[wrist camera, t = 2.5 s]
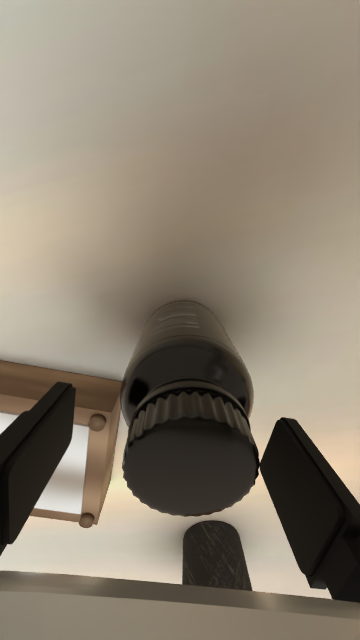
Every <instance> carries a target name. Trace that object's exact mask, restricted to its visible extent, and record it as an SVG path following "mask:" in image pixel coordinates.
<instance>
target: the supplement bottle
mask: <svg viewBox="0 0 360 640" xmlns="http://www.w3.org/2000/svg"><path fill="white" fill-rule="evenodd" d="M253 400H254V391H253V384H252V380H251V377H250V375H249V373H248V370H247V368H246V366H245V364H244V363H243V361H242V359H241V358H240V356H239V354H238V353H237V351H236V349H235V347H234V346H233V344H232V342H231V341H230V339H229V337H228V336H227V334H226V332H225V331H224V329H223V327H222V325H221V324H220V322H219V321H218V319H217V318H216V316H215V315H214V314H213V313H212V312H211V311H210V310H209V309H207V308H206V307H204V306H202V305H200V304H198V303H195V302H190V301H177V302H172V303H169V304H167V305H164V306H163V307H161V308H159V309H158V310H157V311H156V312H155V313H154V314H153V315H152V316H151V317H150V319H149V320H148V322H147V324H146V326H145V328H144V330H143V332H142V335H141V337H140V339H139V342H138V344H137V346H136V348H135V351H134V353H133V355H132V358H131V360H130V362H129V365H128V367H127V369H126V372H125V374H124V377H123V380H122V384H121V389H120V405H121V410H122V413H123V417H124V419H125V421H126V423H127V425H128V427H129V430H128V438H127V442H126V446H125V450H124V456H123V462H122V469H123V471H124V475H123V478H124V479H125V480H126V481H127V487H128V488H129V489H130V490H132V493H133V495H134V496H136V497H137V498H139V499H140V501H141V502H142V503H144V504H147V505H148V506H149V507H150V508H152V509H156V510H158V511H159V512H161V513H168V514H170V515H180V516H184V517H187V516H201V515H210V514H212V513H214V512H220V511H222V510H224V509H225V508H228V507H231V506H232V505H233V504H234V503H236V502H238V501H240V500H241V499H242V498H243V496H245V495H246V494H248V493H249V491H250V488H251V487H252V486H253V485H255V479H256V478H257V477H258V475H259V473H258V469H259V466H260V461H259V458H258V457H259V453H258V449H257V446H256V444H255V441H254V439H253V436H252V434H251V430H250V424H249V417H250V415H251V411H252V407H253Z"/></svg>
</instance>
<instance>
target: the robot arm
mask: <svg viewBox="0 0 360 640" xmlns="http://www.w3.org/2000/svg"><path fill="white" fill-rule="evenodd" d="M75 396H76V388H75V387H73V386H72V384H71V383H66V382H59V381H58V382H56V383H55V384H54V385H53V386H52V387H51V389H50V390H49V391H48V392H47V393H46V394H45V395H44V396H43V397H42V398H41V399H40V400H39V401H38V402H37V403H36V404H35V405H34V406H33V407H32V408H31V409H30V410H29V411H27V410H26V411H24V412H22V413H21V414H20V415H19V416H18V417H17V418H16V419H15V420H14V421H13V422H12V423H11V424H10V425H9V426H8V427H7V428H6V429H5V430H4V431H3V432H2V433H1V434H0V556H1V554H2V552H3V551H4V549H5V547H6V545H7V544H12V543H13V542H14V541H15V540H16V538H17V536H18V535H19V533H20V531H21V529H22V528H23V526H24V524H25V522H26V521H27V519H28V517H29V515H30V514H31V512H32V510H33V508H34V507H35V505H36V503H37V501H38V500H39V498H40V496H41V494H42V493H43V491H44V489H45V487H46V485H47V484H48V482H49V480H50V478H51V477H52V475H53V473H54V471H55V470H56V468H57V466H58V464H59V463H60V461H61V459H62V457H63V456H64V454H65V452H66V450H67V449H68V447H69V445H70V443H71V440H72V434H73V421H74V409H75ZM260 471H261V474H262V477H263V479H264V482H265V484H266V487H267V489H268V492H269V494H270V497H271V499H272V502H273V504H274V507H275V509H276V511H277V514H278V516H279V519H280V521H281V524H282V526H283V529H284V531H285V534H286V536H287V539H288V541H289V544H290V546H291V549H292V551H293V554H294V556H295V559H296V561H297V564H298V566H299V568H300V570H301V572H302V573H303V574H305V576H306V578H307V581H308V583H309V585H310V588H316V589H326V588H328V590H329V592H330V594H331V596H332V599H325V598H315V597H305V596H295V595H285V594H275V593H265V592H255V591H245V590H234V589H224V588H213V587H203V586H192V585H181V584H170V583H159V582H148V581H137V580H125V579H113V578H102V577H90V576H79V575H67V574H51V573H35V572H19V571H0V640H360V504H359V503H358V502H357V500H356V499H355V498H354V496H353V495H352V494H351V492H350V491H349V490H348V488H347V487H346V486H345V484H344V483H343V482H342V480H341V479H340V478H339V476H338V475H337V474H336V472H335V471H334V470H333V468H332V467H331V466H330V464H329V463H328V462H327V460H326V459H325V458H324V456H323V455H322V454H321V452H320V451H319V450H318V448H317V447H316V446H315V444H314V443H313V442H312V440H311V439H310V438H309V437H308V435H307V434H306V433H305V431H304V430H303V429H302V427H301V426H300V425H299V423H298V422H297V421H296V420H295V419H290V418H284V417H282V418H281V419H280V420H278V421H277V422H276V424H275V427H274V429H273V432H272V434H271V437H270V439H269V442H268V444H267V447H266V449H265V452H264V454H263V457H262V460H261V462H260Z"/></svg>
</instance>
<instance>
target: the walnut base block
mask: <svg viewBox="0 0 360 640" xmlns="http://www.w3.org/2000/svg"><path fill="white" fill-rule="evenodd" d="M58 381H59V382H66V383H71V384H72V386H73V387H75V388H76V396H75V409H74V421H73V434H72V440H71V443H70V445H69V447H68V449H67V450H66V452H65V454H64V456H63V457H62V459H61V461H60V463H59V464H58V466H57V468H56V470H55V471H54V473H53V475H52V477H51V478H50V480H49V482H48V484H47V485H46V487H45V489H44V491H43V493H42V494H41V496H40V498H39V500H38V501H37V503H36V505H35V507H34V508H33V510H32V512H31V514H30V515H29V516H36V517H43V518H51V519H58V520H65V521H73V522H79V525H80V526H81V527H83V528H90V527H91V526H92V524H95V525H97V523H98V520H99V516H100V513H101V510H102V507H103V503H104V500H105V497H106V494H107V490H108V487H109V484H110V480H111V473H112V466H113V459H114V453H115V446H116V439H117V432H118V425H119V418H120V411H121V405H120V389H121V384H122V382H120V381H115V380H109V379H103V378H97V377H92V376H86V375H80V374H75V373H69V372H63V371H57V370H52V369H46V368H40V367H35V366H29V365H23V364H17V363H12V362H6V361H0V434H1V433H2V432H3V431H4V430H5V429H6V428H7V427H8V426H9V425H10V424H11V423H12V422H13V421H14V420H15V419H16V418H17V417H18V416H19V415H20V414H21V413H22V412H24V411H26V410H27V411H29V410H30V409H31V408H32V407H33V406H34V405H35V404H36V403H37V402H38V401H39V400H40V399H41V398H42V397H43V396H44V395H45V394H46V393H47V392H48V391H49V390H50V389H51V387H52V386H53V385H54V384H55V383H56V382H58Z"/></svg>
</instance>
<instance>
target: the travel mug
mask: <svg viewBox="0 0 360 640" xmlns="http://www.w3.org/2000/svg"><path fill="white" fill-rule="evenodd" d="M182 585H192V586H203V587H213V588H224V589H234V590H245V591H252V587H251V582H250V578H249V574H248V570H247V565H246V561H245V557H244V553H243V549H242V545H241V541H240V537H239V534H238V532H237V531H236V529H235V528H233V527H232V526H231V525H229V524H226V523H224V522H219V521H206V522H201V523H198V524H196V525H194V526H192V527H191V528H190V529H188V530H187V532H186V533H185V535H184V539H183V577H182Z"/></svg>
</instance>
